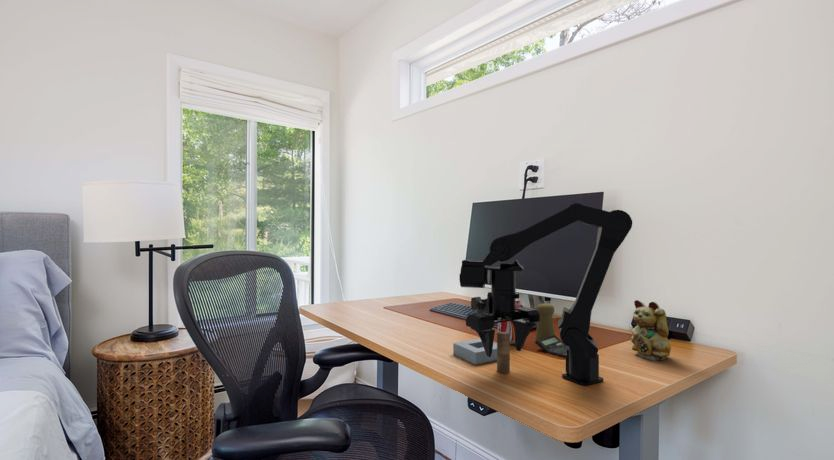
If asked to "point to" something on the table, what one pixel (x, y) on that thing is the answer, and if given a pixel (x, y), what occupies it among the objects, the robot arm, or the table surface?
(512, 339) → the soda can
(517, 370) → the table surface
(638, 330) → the decorative figurine
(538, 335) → the cork
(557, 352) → the calculator
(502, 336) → the peg
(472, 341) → the socket block
